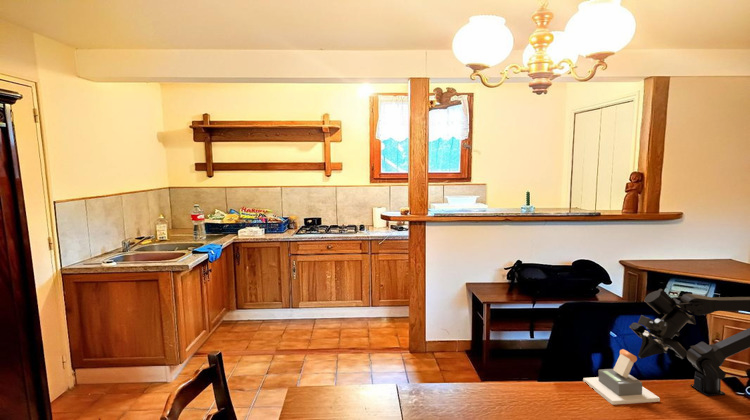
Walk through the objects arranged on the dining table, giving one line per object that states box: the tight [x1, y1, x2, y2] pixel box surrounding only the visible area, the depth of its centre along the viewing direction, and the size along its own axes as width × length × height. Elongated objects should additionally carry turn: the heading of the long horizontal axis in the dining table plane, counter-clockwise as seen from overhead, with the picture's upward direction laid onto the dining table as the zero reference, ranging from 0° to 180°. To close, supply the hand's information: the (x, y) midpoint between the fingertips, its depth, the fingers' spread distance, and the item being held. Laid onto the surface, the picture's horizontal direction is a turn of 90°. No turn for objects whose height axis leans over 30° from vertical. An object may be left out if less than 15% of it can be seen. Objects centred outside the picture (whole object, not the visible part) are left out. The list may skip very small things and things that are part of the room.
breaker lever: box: [612, 348, 638, 378], centre depth 129 cm, size 2×5×8 cm, turn 4°
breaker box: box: [582, 368, 661, 406], centre depth 130 cm, size 16×15×5 cm
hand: (639, 357), depth 130 cm, fingers closed
